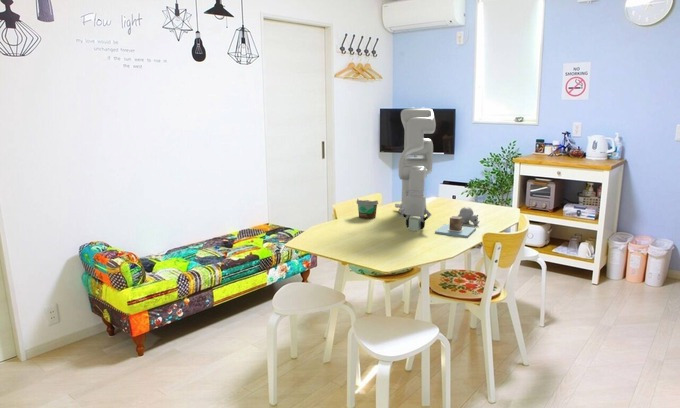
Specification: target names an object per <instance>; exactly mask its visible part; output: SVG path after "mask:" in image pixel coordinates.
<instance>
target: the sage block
mask: <svg viewBox="0 0 680 408" xmlns="http://www.w3.org/2000/svg"><path fill="white" fill-rule="evenodd" d="M420 224H421V218H420V217H417V216H410V218H409V227H408V231H413V232H419V231H421V229H420Z"/></svg>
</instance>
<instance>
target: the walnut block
mask: <svg viewBox="0 0 680 408" xmlns="http://www.w3.org/2000/svg"><path fill="white" fill-rule="evenodd" d="M462 221H463V217H458V215H452V216H451V217H449V224H448V225H449V230H455V231H460V230H461V229H462V226H463V223H462Z"/></svg>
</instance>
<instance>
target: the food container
mask: <svg viewBox="0 0 680 408" xmlns="http://www.w3.org/2000/svg"><path fill="white" fill-rule="evenodd" d="M356 204H357V208H358V209H357V210H358V218H359V219H362V220H373V219H376V216H377V215H376V214H377V208H378V205H379V201H378V200H367V199H366V200H365V199H364V200H359V198H357V199H356Z"/></svg>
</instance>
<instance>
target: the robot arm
mask: <svg viewBox="0 0 680 408" xmlns="http://www.w3.org/2000/svg"><path fill="white" fill-rule="evenodd" d="M400 120H401V123H402V126H403V129H404V137H403V138H404V139H403V140H404V141H403V142H404V144H403V148H404V149H403V151H402V152H401V154H400V156H399V159H398V177H399V179H400V180H401V203H395V204H394V208H397V209H398V213H400V214H401V215H402V216H403V218H404V219H405V226H406V228H408V229H409V218H411V217H412V216H413V217H420V218H421V224H420V229H421V230H424V229H425V224H426V221H427V220H428V219H429V218H430V217H431V216H432V213H430V211H429V210H428V209H427V200H426V196H425V179H426V178H427V177H428V176H427V175H430V174H431V173H432V171H433V159H434V144H433V140H432V139H431V138H425V137H424V136H425V135H426V134H427V135H428V134H429V135H431V134H434V133H435V132H436V126H437V124H436V118H435V113H434V111H433V109H432V108H404V109H402V110H401V111H400ZM424 134H425V135H424ZM409 156H417V157H409ZM418 156H421V157H418ZM425 215H426V216H425ZM421 230H420V231H421Z"/></svg>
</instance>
